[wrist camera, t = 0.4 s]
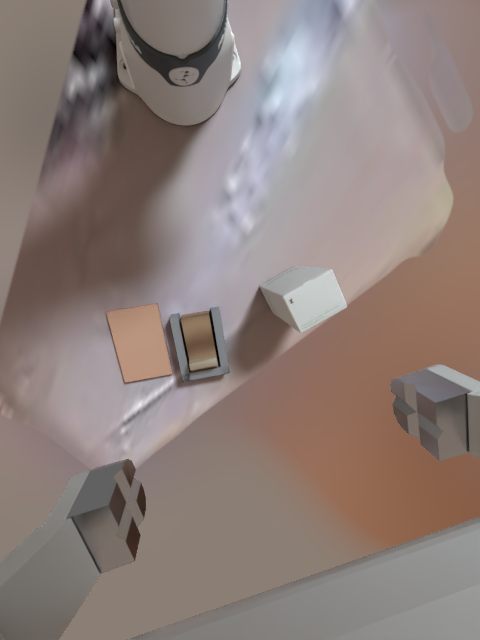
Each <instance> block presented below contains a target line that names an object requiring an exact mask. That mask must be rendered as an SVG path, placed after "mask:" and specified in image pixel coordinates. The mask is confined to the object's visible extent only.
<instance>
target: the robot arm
mask: <svg viewBox="0 0 480 640" xmlns="http://www.w3.org/2000/svg"><path fill="white" fill-rule="evenodd" d="M110 2H111V5H112V7H113V8H114V9H115V18H114V26H115V30H116V45H117V71H118V77H119V81H120V82H121V84H122V85H123V86H124V87H125V88H127V89H128V90H130V91H132V92H134V93H135V94H137V95H138V96H139V97H140V98H141V99H142V100H143V101H144V102H145V104H146V105H147V106H148V107H149V108H150V109H151V110H152V111H153V112H154V113H155V114H156V115H157V116H159V117H160V118H162V119H164V120H165V121H168V122H170V123H173V124H176V125H185V126H187V125H194V124H198V123H201V122H203V121H205V120H206V119H208V118H209V117H211V116H212V115H213V114H214V113H215V112H216V110H217V109H218V108H219V106H220V104H221V103H222V101H223V98H224V96H225V93H226V91H227V89H228V87H229V86H230V85H231V84H232V83H234V82H235V81H236V79H237V78H238V77H239V75H240V73H241V63H240V59H239V56H238V52H237V48H236V45H235V41H234V34H232V30H231V27H230V23H229V20H228V16H227V12H228V10H227V0H110ZM124 66H126V68H127V69H124ZM390 385H391V392H392V393H393V394H394V395H395V396H396V399H395V401H394V402H393V410H394V415H395V417H396V419H397V421H398V423H399V424H400V426H401V427H402V428H403V429H404V430H405V431H406V432H407V433H408V434H409V435H413V436H415V437H419V438H420V443H421V445H422V446H423V447H424V448H425V449H426V450H427V451H429V452H430V453H431V454H432V455H434V456H435V457H436V458H437V459H438V460H439V461H441V460H445V459H448V458H451V457H455V456H458V455H462V454H465V453H468V452H469V453H470V454H471V455H473V456H476V457H478V458H480V382H479V381H477V380H474V379H472V378H470V377H468V376H466V375H464V374H461V373H459V372H457V371H455V370H453V369H450V368H448V367H446V366H444V365H438V364H436V365H433V366H430V367H427V368H425V369H422V370H420V371H417V372H413V373H410V374H407V375H404V376H401V377H398V378H395V379H392V380H391V384H390ZM135 471H136V469H135V467H134V465H133V463H132V461H131V460H129V459H126V460H122V461H118V462H115V463H111V464H108V465H104V466H101V467H97V468H94V469H90V470H87V471H83V472H80V473H77V474H75V475H74V476H72V478H71V479H70V481H69V483H68V484H67V486H66V488H65V489H64V491H63V493H62V495H61V496H60V498H59V500H58V501H57V503H56V505H55V507H54V508H53V510H52V512H51V513H50V515H49V517H48V519H47V520H46V522H45V524H44V525H43V527H40V528H37V529H35V530H34V531H33V532H32V533H31V534H30V535H29V536H28V537H27V538H25V539H24V540H23V541H22V542H21V543H20V544H19V545H17V546H16V547H15V548H14V549H13V550H12V551H11V552H10V553H9V554H7V556H5V557H4V558H3V559H2V560H1V561H0V640H59V639H60V637H61V636H62V634H63V633H64V631H65V630H66V628H67V627H68V625H69V623H70V622H71V621H72V619H73V618H74V616H75V614H76V613H77V611H78V610H79V608H80V607H81V605H82V604H83V602H84V601H85V599H86V598H87V596H88V595H89V593H90V592H91V590H92V589H93V587H94V586H95V584H96V583H97V581H98V579H99V578H100V576H101V575H100V574H101V573H104V572H107V571H109V570H112V569H115V568H118V567H120V566H123V565H126V564H129V563H131V562H134V561H135V558H136V553H137V549H138V544H139V539H140V533H139V530H138V526H139V525H140V524H141V522H142V521H143V520H144V516H145V511H146V497H145V493H144V488H143V486H142V483H141V482H140V481H138V480H136V479H134V475H135ZM127 640H480V517H477V518H474V519H472V520H469V521H466V522H463V523H460V524H457V525H454V526H451V527H449V528H446V529H443V530H440V531H437V532H434V533H431V534H428V535H425V536H423V537H420V538H417V539H414V540H411V541H408V542H405V543H403V544H400V545H397V546H394V547H391V548H388V549H385V550H383V551H380V552H377V553H374V554H371V555H368V556H365V557H362V558H360V559H357V560H354V561H351V562H348V563H345V564H342V565H340V566H336V567H334V568H331V569H328V570H325V571H322V572H319V573H316V574H313V575H311V576H308V577H305V578H302V579H299V580H296V581H293V582H290V583H288V584H285V585H282V586H279V587H276V588H273V589H271V590H267V591H265V592H262V593H259V594H256V595H253V596H250V597H248V598H245V599H242V600H239V601H236V602H233V603H230V604H227V605H224V606H222V607H219V608H216V609H213V610H210V611H207V612H205V613H201V614H199V615H196V616H193V617H190V618H187V619H184V620H181V621H179V622H176V623H173V624H170V625H167V626H164V627H161V628H158V629H156V630H153V631H150V632H147V633H144V634H141V635H138V636H136V637H133V638H130V639H127Z"/></svg>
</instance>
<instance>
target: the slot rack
mask: <svg viewBox="0 0 480 640" xmlns="http://www.w3.org/2000/svg"><path fill="white" fill-rule="evenodd" d="M211 312H212V318H213V324H214V330H215V336H216V342H217V348H218V354H219V360H220V361H219V362H218V367H213V368H208V369H203V370H197V371H191V370H190V366H189V360H188V355H187V350H186V345H185V340H184V335H183V330H182V325H181V320H180V315H179V313H178V314H172V315H171V316H170V323H171V328H172V333H173V337H174V342H175V347H176V352H177V357H178V361H179V366H180V371H181V376H182V380H183V382H185V381H190V380H195V379H201V378H206V377H211V376H217V375H222V374H227V373H230V371H229V365H228V359H227V353H226V346H225V340H224V334H223V328H222V321H221V315H220V310H219V307H215V308H211Z"/></svg>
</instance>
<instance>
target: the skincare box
mask: <svg viewBox="0 0 480 640" xmlns="http://www.w3.org/2000/svg"><path fill="white" fill-rule="evenodd" d="M260 289H261V291H262V293H263V295H264V297H265V299H266V301H267V303H268V305H269V307H270V309H271V311H272V313H273V314H275V315H276V316H278V317H279V318H280V319H282V320H283V321H285V322H286V323H287V324H289V325H290V326H292V327H293V328H294V329H296V330H297V331H299V332H300V333H302V332H304V331H306V330H308V329H309V328H311V327H313V326H315V325H316V324H318V323H320V322H322V321H324V320H325V319H327V318H329V317H331V316H332V315H334V314H336V313H338V312H339V311H341V310H343V309H345V308H346V307H347V305H346V302H345V299H344V297H343V295H342V292H341V290H340V287H339V285H338V283H337V280H336V278H335V275H334V273H333V271H332V269H325V268H311V267H297V266H294V267H292V268H290V269H288V270H286V271H285V272H283V273H281V274H279V275H277V276H276V277H274V278H272V279H270V280H269V281H267V282H265V283H263V284H262V285H260Z"/></svg>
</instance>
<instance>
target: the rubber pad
mask: <svg viewBox="0 0 480 640" xmlns="http://www.w3.org/2000/svg"><path fill="white" fill-rule="evenodd" d="M106 314H107V318H108V321H109V325H110V329H111V333H112V336H113V340H114V344H115V347H116V351H117V355H118V359H119V362H120V366H121V370H122V373H123V377H124V381H125V383H126V382H132V381H137V380H142V379H148V378H153V377H159V376H164V375H170V374H172V373H173V372H172V367H171V363H170V358H169V353H168V349H167V344H166V340H165V335H164V331H163V326H162V321H161V317H160V312H159V308H158V303H157V304H150V305H144V306H138V307H131V308H125V309H119V310H113V311H107V312H106Z"/></svg>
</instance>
